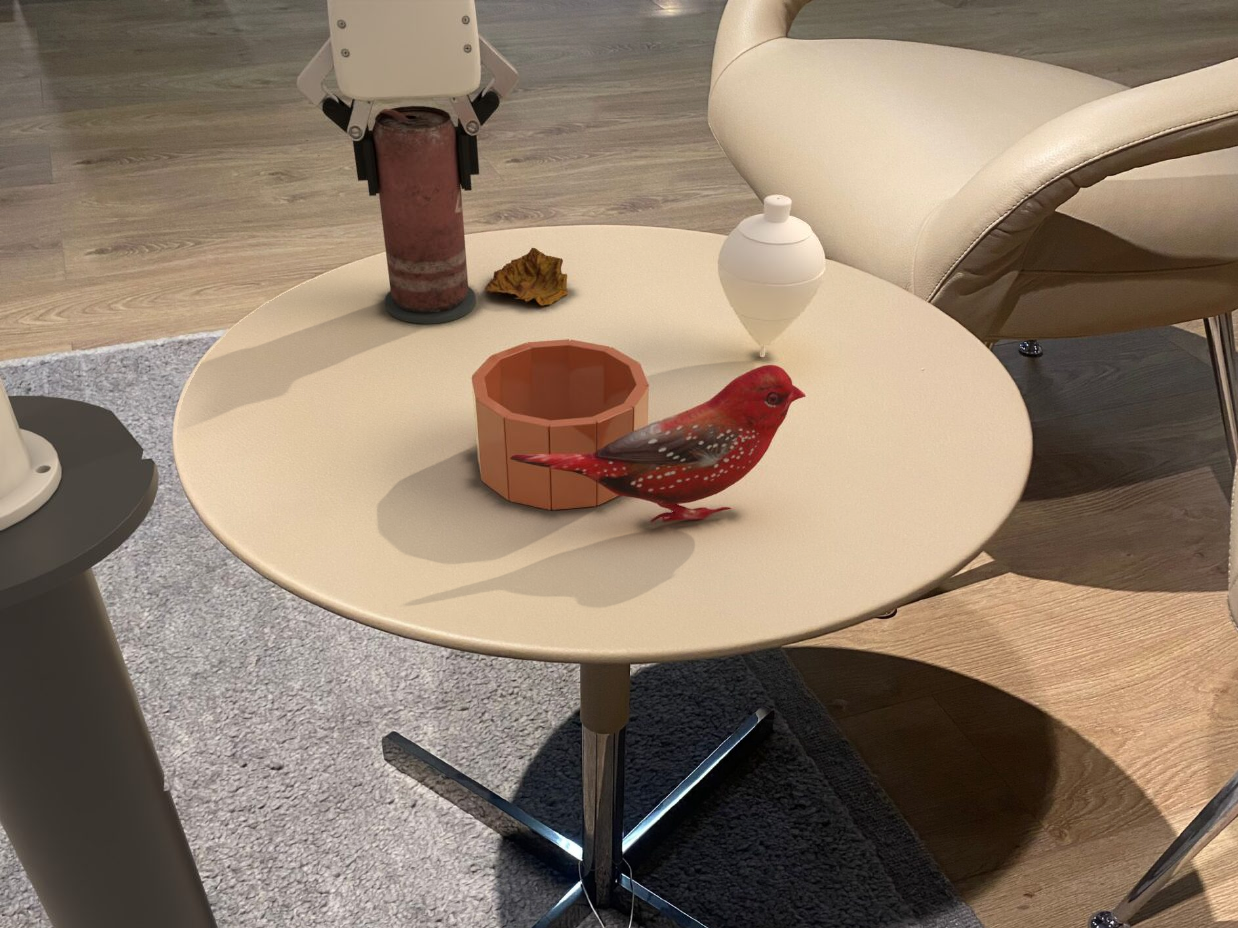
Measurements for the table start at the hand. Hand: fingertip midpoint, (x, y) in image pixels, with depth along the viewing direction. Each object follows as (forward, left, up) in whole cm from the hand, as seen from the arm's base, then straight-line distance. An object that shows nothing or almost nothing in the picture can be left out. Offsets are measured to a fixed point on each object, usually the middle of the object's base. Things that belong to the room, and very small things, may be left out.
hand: (419, 184), depth 89 cm
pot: (+7, -25, -10) cm, 27 cm away
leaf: (+8, +1, -10) cm, 13 cm away
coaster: (0, 0, -10) cm, 10 cm away
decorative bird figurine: (+12, -33, -10) cm, 36 cm away
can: (0, 0, -9) cm, 9 cm away
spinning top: (+24, -13, -10) cm, 29 cm away
